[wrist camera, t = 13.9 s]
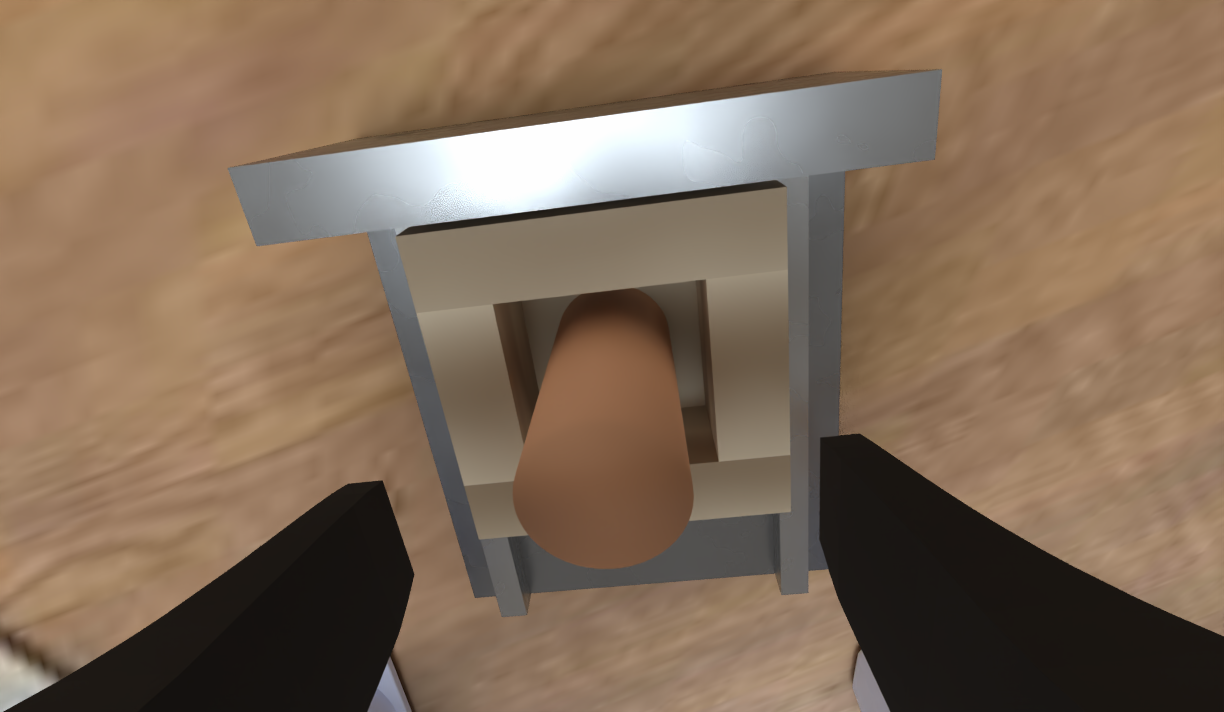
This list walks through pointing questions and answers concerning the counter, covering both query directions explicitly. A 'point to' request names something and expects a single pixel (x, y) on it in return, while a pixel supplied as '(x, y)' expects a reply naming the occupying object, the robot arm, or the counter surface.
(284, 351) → the counter surface
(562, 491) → the dowel
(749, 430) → the sliding block
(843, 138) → the slide base
